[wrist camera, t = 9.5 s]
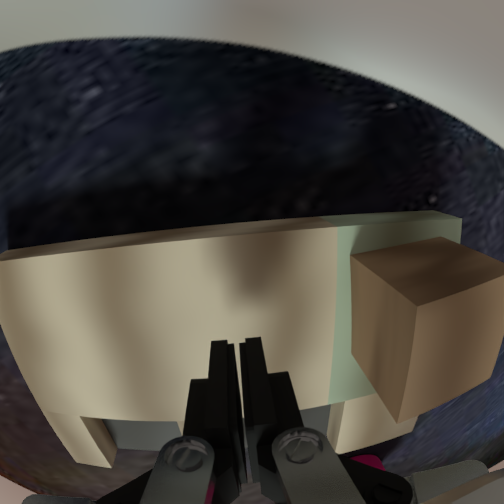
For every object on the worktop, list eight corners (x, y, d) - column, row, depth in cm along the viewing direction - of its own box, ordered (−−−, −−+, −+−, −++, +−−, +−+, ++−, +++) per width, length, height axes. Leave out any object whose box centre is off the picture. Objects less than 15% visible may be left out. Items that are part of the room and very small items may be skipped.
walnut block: (440, 236, 12) (517, 269, 7) (433, 327, 14) (490, 377, 9) (349, 254, 12) (417, 306, 7) (351, 353, 13) (396, 424, 9)
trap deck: (433, 210, 15) (461, 218, 12) (397, 410, 19) (411, 431, 16) (7, 250, 13) (-19, 263, 10) (85, 439, 17) (76, 462, 15)
